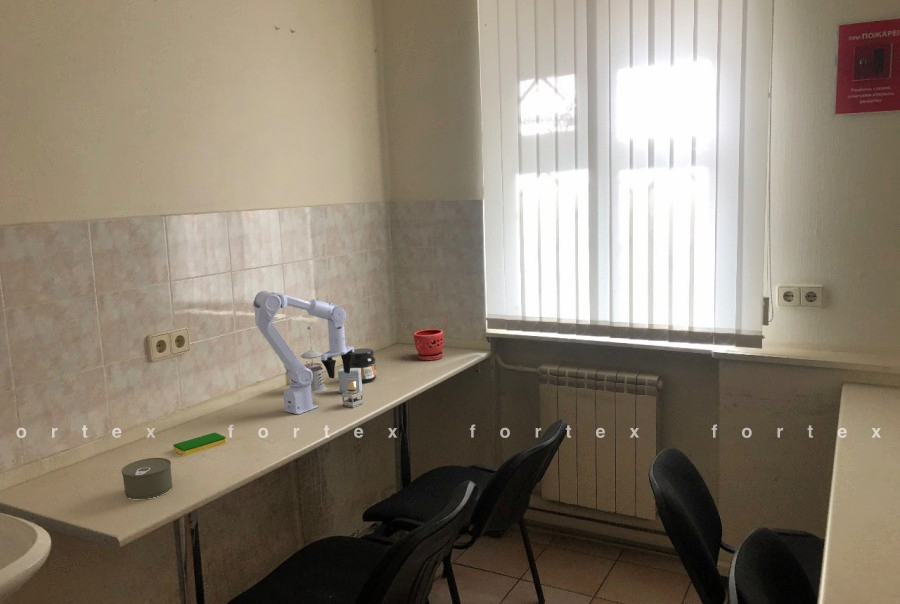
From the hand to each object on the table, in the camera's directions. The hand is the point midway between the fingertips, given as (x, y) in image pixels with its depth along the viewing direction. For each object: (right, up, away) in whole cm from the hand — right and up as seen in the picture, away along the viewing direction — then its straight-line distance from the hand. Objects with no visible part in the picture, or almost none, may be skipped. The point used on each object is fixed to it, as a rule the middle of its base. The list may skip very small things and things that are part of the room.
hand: (339, 375), depth 264 cm
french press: (-12, -8, +16) cm, 22 cm away
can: (-39, -24, -71) cm, 85 cm away
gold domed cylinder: (+5, -10, -4) cm, 12 cm away
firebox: (+5, -10, -4) cm, 12 cm away
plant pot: (+31, +1, +59) cm, 67 cm away
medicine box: (+2, -8, +12) cm, 15 cm away
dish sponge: (-37, -19, -40) cm, 57 cm away
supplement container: (+5, -5, +28) cm, 29 cm away
